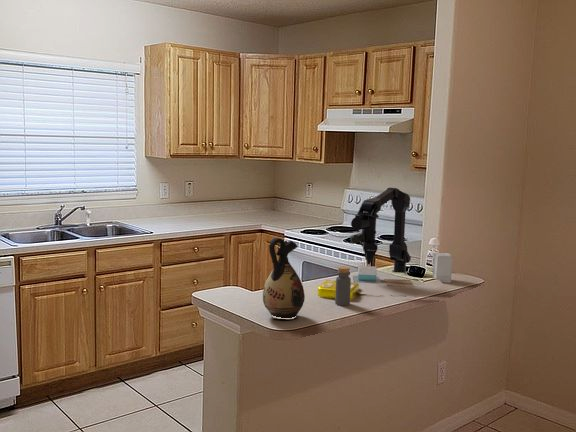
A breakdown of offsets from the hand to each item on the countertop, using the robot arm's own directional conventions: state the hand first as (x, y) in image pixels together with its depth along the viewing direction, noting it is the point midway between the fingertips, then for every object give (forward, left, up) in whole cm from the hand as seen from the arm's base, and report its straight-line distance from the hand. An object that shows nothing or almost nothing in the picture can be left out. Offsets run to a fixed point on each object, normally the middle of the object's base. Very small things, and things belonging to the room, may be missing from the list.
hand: (367, 261), depth 269 cm
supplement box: (-9, +36, -10) cm, 39 cm away
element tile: (+21, -14, -11) cm, 27 cm away
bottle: (+35, -13, -10) cm, 38 cm away
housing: (0, 0, -8) cm, 8 cm away
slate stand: (0, 0, -10) cm, 10 cm away
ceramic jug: (+55, -36, -10) cm, 67 cm away
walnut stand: (+4, +14, -10) cm, 18 cm away
